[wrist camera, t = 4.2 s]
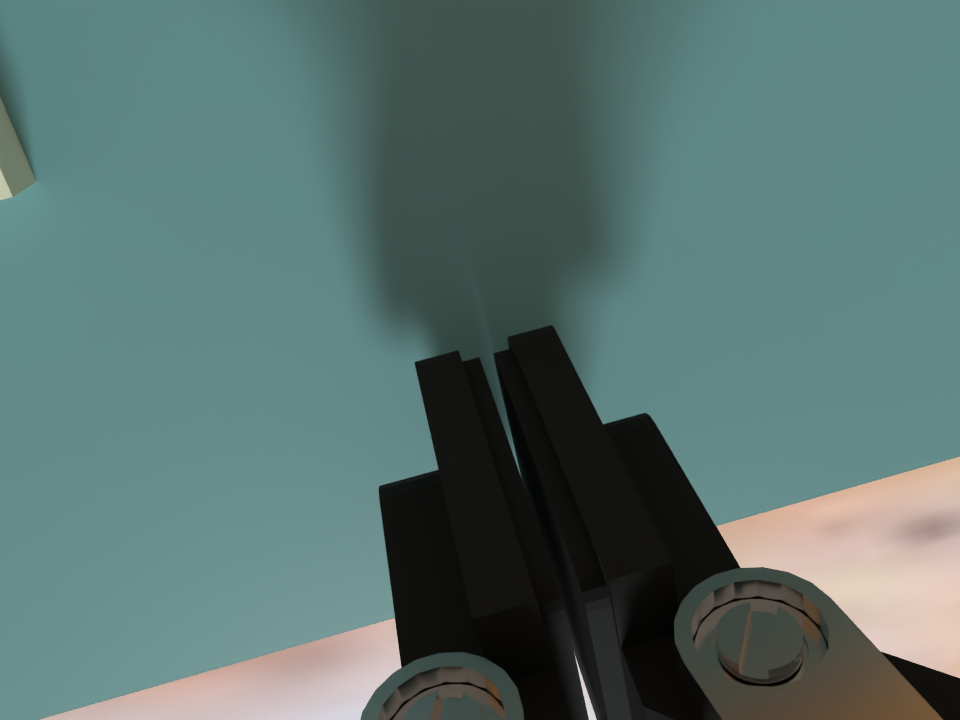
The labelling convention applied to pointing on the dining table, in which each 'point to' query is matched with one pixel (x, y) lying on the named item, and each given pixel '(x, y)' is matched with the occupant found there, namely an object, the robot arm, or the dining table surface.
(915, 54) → the plate
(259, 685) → the dining table surface
